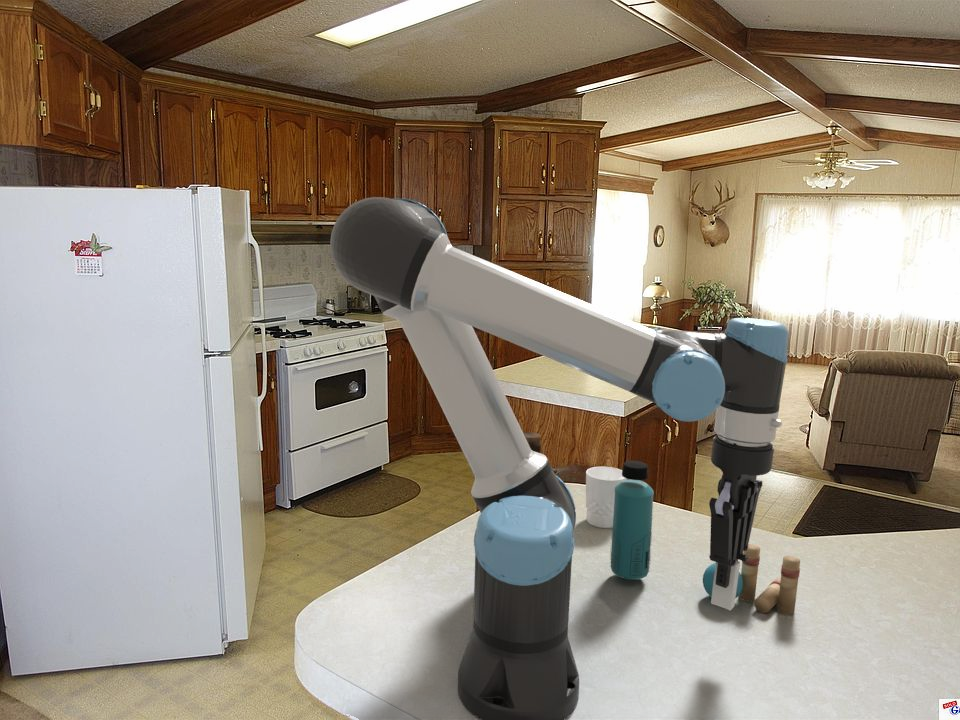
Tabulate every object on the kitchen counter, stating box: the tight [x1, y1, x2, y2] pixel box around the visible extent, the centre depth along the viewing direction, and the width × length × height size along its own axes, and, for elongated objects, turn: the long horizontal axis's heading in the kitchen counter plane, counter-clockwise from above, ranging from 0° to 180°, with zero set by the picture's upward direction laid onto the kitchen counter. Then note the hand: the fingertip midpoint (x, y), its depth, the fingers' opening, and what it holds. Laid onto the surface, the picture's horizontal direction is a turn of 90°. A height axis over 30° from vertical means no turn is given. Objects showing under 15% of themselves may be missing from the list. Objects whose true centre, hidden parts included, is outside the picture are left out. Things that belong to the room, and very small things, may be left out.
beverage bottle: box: [609, 460, 655, 580], centre depth 119 cm, size 6×7×20 cm
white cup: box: [585, 466, 628, 529], centre depth 143 cm, size 8×8×10 cm
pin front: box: [753, 577, 781, 614], centre depth 115 cm, size 3×3×8 cm
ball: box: [702, 562, 743, 600], centre depth 115 cm, size 6×6×6 cm
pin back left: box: [738, 543, 761, 602], centre depth 115 cm, size 3×3×8 cm
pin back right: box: [777, 555, 801, 616], centre depth 112 cm, size 3×2×8 cm
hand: (722, 604), depth 100 cm, fingers closed
